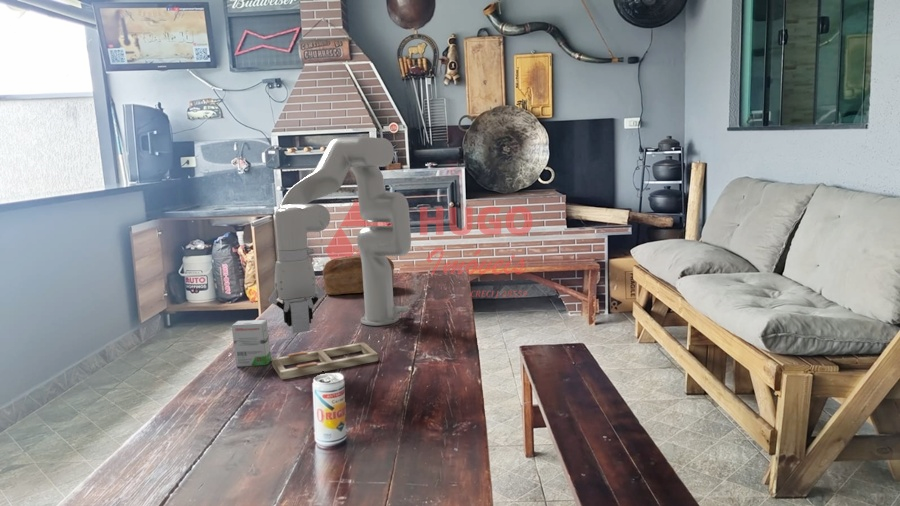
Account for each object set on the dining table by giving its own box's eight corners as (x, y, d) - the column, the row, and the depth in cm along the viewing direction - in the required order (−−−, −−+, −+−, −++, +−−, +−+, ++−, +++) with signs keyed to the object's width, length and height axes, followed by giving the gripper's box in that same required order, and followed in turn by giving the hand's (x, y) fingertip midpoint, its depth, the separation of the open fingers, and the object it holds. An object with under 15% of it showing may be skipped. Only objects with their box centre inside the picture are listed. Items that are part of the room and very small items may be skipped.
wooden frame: (364, 348, 185) (363, 340, 185) (378, 360, 175) (377, 352, 174) (272, 365, 174) (271, 356, 174) (281, 379, 164) (280, 370, 163)
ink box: (272, 359, 179) (268, 318, 177) (266, 365, 175) (262, 323, 172) (241, 360, 180) (237, 319, 178) (235, 367, 175) (230, 325, 173)
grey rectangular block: (305, 326, 173) (303, 297, 172) (310, 330, 169) (307, 300, 168) (289, 329, 171) (286, 299, 170) (292, 333, 167) (290, 303, 166)
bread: (396, 292, 253) (394, 256, 250) (323, 297, 249) (320, 261, 247) (394, 285, 265) (392, 251, 262) (325, 290, 261) (322, 255, 258)
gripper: (321, 250, 174) (326, 315, 177) (257, 256, 166) (263, 325, 169) (329, 253, 167) (334, 322, 170) (262, 261, 160) (268, 332, 163)
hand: (298, 323), depth 170 cm, fingers closed on grey rectangular block, 4 cm apart
